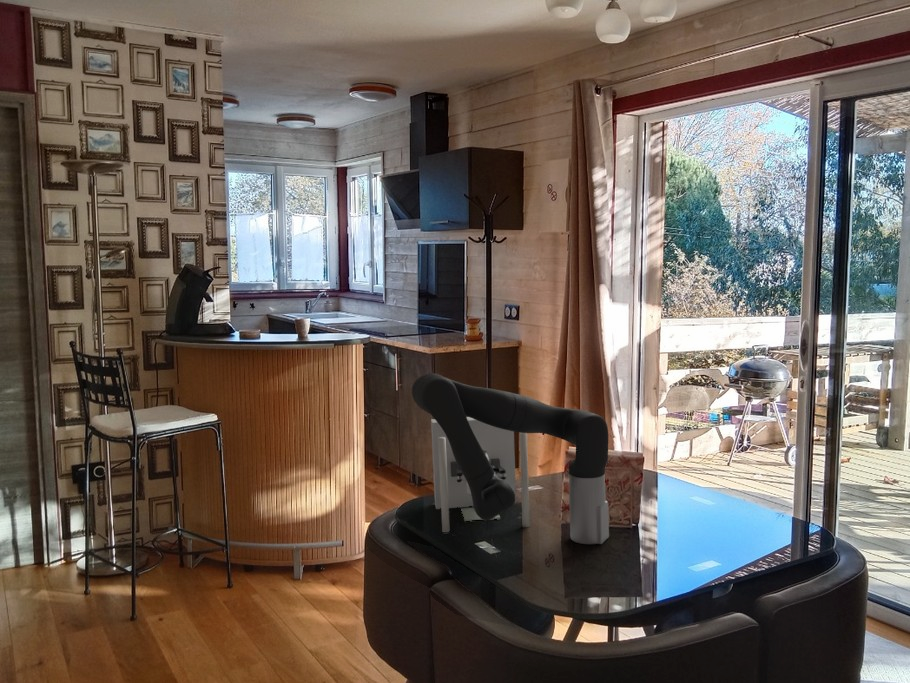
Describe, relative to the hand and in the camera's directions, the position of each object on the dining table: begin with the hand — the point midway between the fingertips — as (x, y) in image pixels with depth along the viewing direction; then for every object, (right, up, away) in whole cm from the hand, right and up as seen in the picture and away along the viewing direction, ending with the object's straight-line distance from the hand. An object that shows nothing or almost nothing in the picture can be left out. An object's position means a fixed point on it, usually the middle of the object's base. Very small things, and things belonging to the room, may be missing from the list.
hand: (476, 467), depth 226 cm
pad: (+1, -14, -1) cm, 14 cm away
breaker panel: (0, -13, +10) cm, 16 cm away
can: (0, -7, -2) cm, 8 cm away
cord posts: (+2, -15, -13) cm, 20 cm away
